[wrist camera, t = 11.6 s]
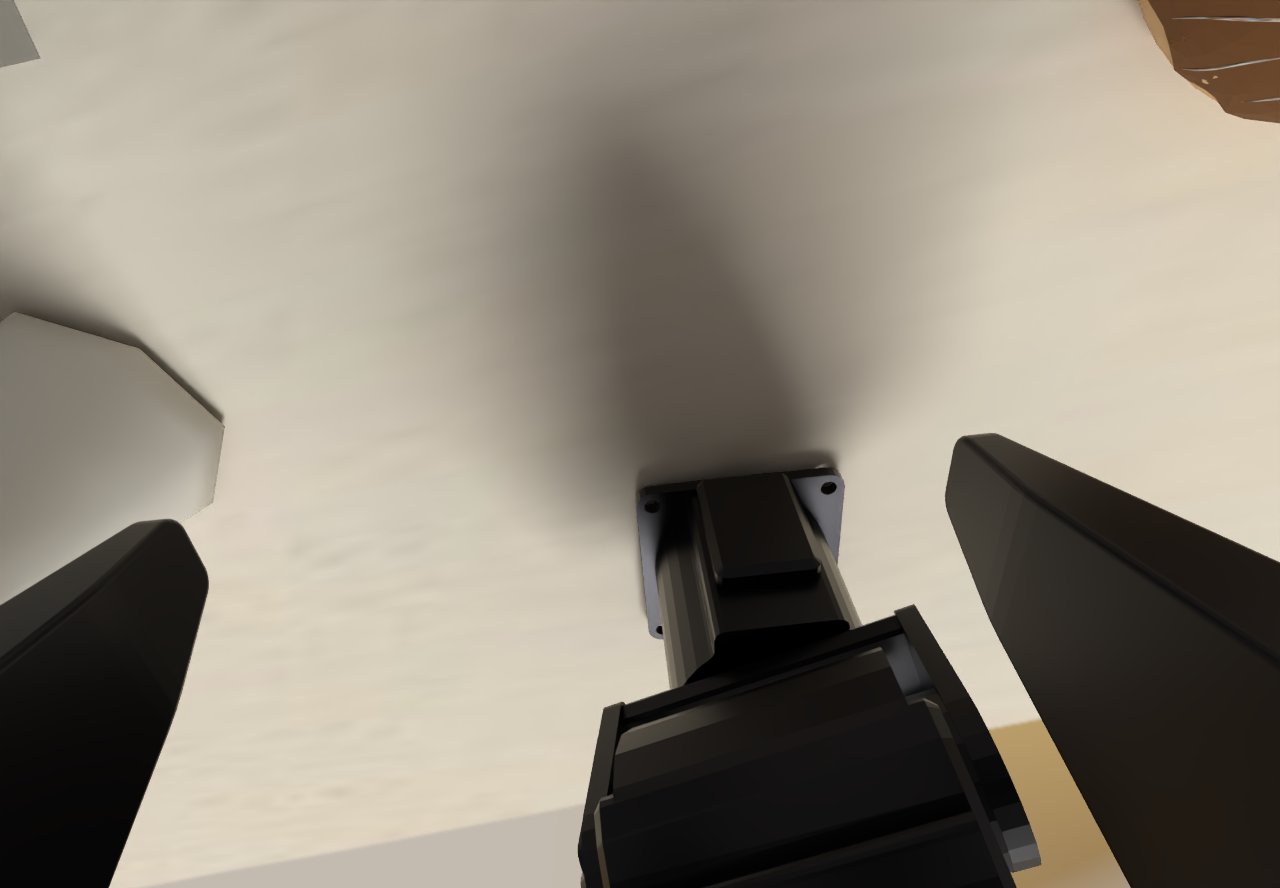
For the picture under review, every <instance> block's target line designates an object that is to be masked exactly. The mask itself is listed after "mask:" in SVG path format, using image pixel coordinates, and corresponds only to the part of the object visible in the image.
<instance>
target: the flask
mask: <svg viewBox="0 0 1280 888" xmlns="http://www.w3.org/2000/svg"><path fill="white" fill-rule="evenodd" d="M224 428H225V426H224V425H222V424H221V423H220V422H219V421H218V420H217V419H216V418H215V417H214V416H213V415H212V414H210V413H209V412H208V411H207V410H206V409H205V408H204V407H203V406H202V405H201V404H200V403H198V402H197V401H196V400H195V399H194V398H193V397H192V396H191V395H190V394H189V393H187V392H186V391H185V390H184V389H183V388H182V387H181V386H180V385H179V384H178V383H177V382H175V381H174V380H173V379H172V378H171V377H170V376H169V375H168V374H167V373H166V372H164V371H163V370H162V369H161V368H160V367H159V366H158V365H157V364H156V363H155V362H154V361H152V360H151V359H150V358H149V357H148V356H147V355H146V354H145V353H144V352H143V351H141V350H140V349H139V348H136V347H132V346H129V345H126V344H122V343H119V342H116V341H112V340H109V339H105V338H102V337H99V336H95V335H92V334H88V333H85V332H82V331H78V330H75V329H72V328H68V327H65V326H61V325H58V324H55V323H51V322H48V321H44V320H41V319H38V318H34V317H31V316H27V315H24V314H21V313H17V312H13V313H12V314H10V315H9V316H8V317H6V318H5V319H3V320H2V321H1V322H0V605H1V604H3V603H5V602H6V601H8V600H9V599H11V598H13V597H14V596H16V595H18V594H19V593H21V592H22V591H24V590H26V589H27V588H29V587H31V586H32V585H34V584H35V583H37V582H39V581H40V580H42V579H44V578H45V577H47V576H48V575H50V574H52V573H53V572H55V571H57V570H58V569H60V568H61V567H63V566H65V565H66V564H68V563H70V562H71V561H73V560H74V559H76V558H78V557H79V556H81V555H83V554H84V553H86V552H87V551H89V550H91V549H92V548H94V547H95V546H97V545H99V544H100V543H102V542H104V541H105V540H107V539H108V538H110V537H112V536H113V535H115V534H117V533H118V532H120V531H121V530H123V529H125V528H126V527H128V526H130V525H131V524H133V523H136V522H140V521H149V520H158V519H173V520H176V521H178V522H179V523H181V522H182V521H184V520H186V519H187V518H189V517H191V516H192V515H194V514H195V513H197V512H198V511H200V510H202V509H203V508H205V507H206V506H208V505H209V504H211V503H213V499H214V492H215V486H216V479H217V473H218V466H219V460H220V453H221V447H222V441H223V434H224Z"/></svg>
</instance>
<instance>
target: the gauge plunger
mask: <svg viewBox="0 0 1280 888" xmlns="http://www.w3.org/2000/svg"><path fill="white" fill-rule="evenodd" d="M39 58H40V56H39V54H38V52H37V49H36V47H35V45H34V43H33V41H32V39H31V37H30V34H29V32H28V30H27V28H26V26H25V24H24V21H23V19H22V17H21V15H20V13H19V11H18V9H17V6H16V4H15V2H14V0H0V67H4V66H9V65H13V64H17V63H22V62H26V61H30V60H35V59H39Z"/></svg>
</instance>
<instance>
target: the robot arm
mask: <svg viewBox="0 0 1280 888" xmlns="http://www.w3.org/2000/svg"><path fill="white" fill-rule="evenodd" d="M826 482H832V484H830V485H829V486H827V487H821V486H822V485H823V484H824V483H826ZM844 488H845V485H844V481H843V479H842V477H841V475H840V473H839V472H838V471H837V470H835V469H833V468H819V469H809V470H799V471H790V472H776V473H767V474H757V475H748V476H738V477H728V478H719V479H709V480H704V481H694V482H685V483H675V484H666V485H656V486H649V487H645V488H643V489H642V490H640V491H639V492H638V494H637V495H636V509H637V519H638V529H639V539H640V548H641V558H642V568H643V578H644V588H645V598H646V608H647V618H648V628H649V633H650V635H651V636H653V637H654V638H657V639H664V645H665V653H666V661H667V669H668V676H669V684H670V690H667V691H664V692H661V693H658V694H655V695H652V696H649V697H646V698H643V699H640V700H637V701H634V702H631V703H628V704H625V703H624V702H620V703H617V704H614V705H611V706H608V707H605V708H604V709H603V714H602V719H601V725H600V730H599V735H598V739H597V745H596V750H595V756H594V761H593V767H592V772H591V777H590V783H589V788H588V793H587V799H586V804H585V809H584V814H583V822H582V827H581V832H580V838H579V843H578V858H579V862H580V865H581V868H582V871H583V873H582V877H581V888H1016V885H1015V883H1014V880H1013V878H1012V875H1011V873H1010V872H1012V873H1013V872H1017V871H1021V870H1025V869H1028V868H1032V867H1036V866H1039V865H1041V858H1040V854H1039V850H1038V847H1037V843H1036V840H1035V837H1034V835H1033V832H1032V829H1031V826H1030V823H1029V821H1028V818H1027V816H1026V813H1025V811H1024V808H1023V806H1022V803H1021V801H1020V799H1019V796H1018V794H1017V792H1016V789H1015V787H1014V784H1013V782H1012V780H1011V777H1010V775H1009V773H1008V771H1007V769H1006V766H1005V764H1004V762H1003V760H1002V758H1001V756H1000V754H999V751H998V749H997V747H996V745H995V743H994V741H993V739H992V737H991V735H990V733H989V731H988V729H987V727H986V725H985V723H984V721H983V719H982V717H981V715H980V713H979V711H978V709H977V708H976V706H975V704H974V702H973V701H972V699H971V697H970V695H969V694H968V692H967V691H966V689H965V687H964V686H963V684H962V682H961V681H960V679H959V677H958V676H957V674H956V672H955V671H954V669H953V667H952V666H951V664H950V662H949V661H948V659H947V658H946V656H945V654H944V653H943V651H942V649H941V648H940V646H939V644H938V643H937V641H936V639H935V638H934V636H933V634H932V633H931V631H930V629H929V628H928V626H927V625H926V623H925V621H924V620H923V618H922V616H921V615H920V613H919V611H918V610H917V608H916V606H915V605H914V604H913V605H910V606H907V607H904V608H901V609H898V610H895V611H894V614H895V615H893V616H890V617H887V618H884V619H881V620H878V621H875V622H872V623H869V624H866V625H863V626H862V624H861V621H860V619H859V617H858V614H857V612H856V610H855V607H854V605H853V602H852V600H851V598H850V595H849V593H848V590H847V588H846V586H845V583H844V581H843V578H842V576H841V574H840V571H839V569H838V566H837V563H838V552H839V542H840V531H841V520H842V510H843V499H844ZM651 500H656V501H658V503H657V504H654V505H647V504H646V503H647V502H648V501H651ZM945 502H946V508H947V512H948V515H949V517H950V520H951V523H952V525H953V528H954V530H955V533H956V535H957V538H958V541H959V543H960V546H961V548H962V551H963V554H964V556H965V559H966V561H967V564H968V566H969V569H970V572H971V574H972V577H973V579H974V582H975V585H976V587H977V590H978V592H979V595H980V597H981V600H982V603H983V605H984V607H985V610H986V612H987V614H988V617H989V619H990V622H991V624H992V626H993V628H994V630H995V632H996V634H997V636H998V638H999V640H1000V642H1001V643H1002V645H1003V647H1004V649H1005V651H1006V653H1007V655H1008V657H1009V659H1010V660H1011V662H1012V664H1013V666H1014V668H1015V670H1016V672H1017V674H1018V676H1019V677H1020V679H1021V681H1022V683H1023V685H1024V687H1025V689H1026V691H1027V693H1028V694H1029V696H1030V698H1031V700H1032V702H1033V704H1034V706H1035V708H1036V710H1037V711H1038V713H1039V715H1040V717H1041V719H1042V721H1043V723H1044V725H1045V726H1046V728H1047V730H1048V732H1049V734H1050V736H1051V738H1052V740H1053V741H1054V743H1055V745H1056V747H1057V749H1058V751H1059V753H1060V755H1061V757H1062V759H1063V760H1064V762H1065V764H1066V766H1067V768H1068V770H1069V771H1070V774H1071V775H1072V777H1073V779H1074V781H1075V783H1076V785H1077V787H1078V789H1079V790H1080V793H1081V794H1082V796H1083V798H1084V800H1085V802H1086V804H1087V806H1088V808H1089V809H1090V811H1091V813H1092V815H1093V817H1094V819H1095V821H1096V823H1097V825H1098V827H1099V828H1100V830H1101V832H1102V834H1103V836H1104V838H1105V840H1106V842H1107V844H1108V845H1109V847H1110V849H1111V851H1112V853H1113V855H1114V857H1115V859H1116V860H1117V862H1118V864H1119V866H1120V868H1121V870H1122V872H1123V874H1124V876H1125V877H1126V879H1127V881H1128V883H1129V885H1130V887H1131V888H1280V562H1278V561H1276V560H1274V559H1272V558H1269V557H1267V556H1265V555H1263V554H1261V553H1258V552H1256V551H1254V550H1252V549H1250V548H1247V547H1245V546H1243V545H1241V544H1239V543H1236V542H1234V541H1232V540H1230V539H1228V538H1225V537H1223V536H1221V535H1219V534H1217V533H1214V532H1212V531H1210V530H1208V529H1206V528H1203V527H1201V526H1199V525H1197V524H1195V523H1192V522H1190V521H1188V520H1186V519H1184V518H1181V517H1179V516H1177V515H1175V514H1173V513H1170V512H1168V511H1166V510H1164V509H1162V508H1159V507H1157V506H1155V505H1153V504H1151V503H1148V502H1146V501H1144V500H1142V499H1140V498H1137V497H1135V496H1133V495H1131V494H1129V493H1126V492H1124V491H1122V490H1120V489H1118V488H1115V487H1113V486H1111V485H1109V484H1107V483H1104V482H1102V481H1100V480H1098V479H1096V478H1093V477H1091V476H1089V475H1087V474H1085V473H1082V472H1080V471H1078V470H1076V469H1074V468H1071V467H1069V466H1067V465H1065V464H1063V463H1060V462H1058V461H1056V460H1054V459H1052V458H1049V457H1047V456H1045V455H1043V454H1041V453H1038V452H1036V451H1034V450H1032V449H1030V448H1027V447H1025V446H1023V445H1021V444H1019V443H1016V442H1014V441H1012V440H1010V439H1008V438H1005V437H1003V436H1001V435H999V434H996V433H986V434H977V435H967V436H962V437H961V438H960V439H958V440H957V442H956V444H955V446H954V449H953V455H952V460H951V465H950V471H949V476H948V481H947V486H946V493H945ZM208 588H209V580H208V574H207V571H206V568H205V566H204V565H203V563H202V561H201V559H200V557H199V555H198V553H197V551H196V550H195V548H194V546H193V544H192V542H191V540H190V538H189V537H188V535H187V533H186V531H185V529H184V528H183V526H182V525H181V524H180V523H179V522H178V521H176V520H173V519H158V520H149V521H140V522H136V523H133V524H131V525H130V526H128V527H126V528H125V529H123V530H121V531H120V532H118V533H117V534H115V535H113V536H112V537H110V538H108V539H107V540H105V541H104V542H102V543H100V544H99V545H97V546H95V547H94V548H92V549H91V550H89V551H87V552H86V553H84V554H83V555H81V556H79V557H78V558H76V559H74V560H73V561H71V562H70V563H68V564H66V565H65V566H63V567H61V568H60V569H58V570H57V571H55V572H53V573H52V574H50V575H48V576H47V577H45V578H44V579H42V580H40V581H39V582H37V583H35V584H34V585H32V586H31V587H29V588H27V589H26V590H24V591H22V592H21V593H19V594H18V595H16V596H14V597H13V598H11V599H9V600H8V601H6V602H5V603H3V604H1V605H0V888H109V886H110V883H111V881H112V878H113V875H114V873H115V870H116V868H117V865H118V862H119V860H120V857H121V855H122V852H123V849H124V847H125V844H126V842H127V839H128V836H129V834H130V831H131V829H132V826H133V823H134V821H135V818H136V816H137V813H138V810H139V808H140V805H141V802H142V800H143V797H144V795H145V792H146V789H147V787H148V784H149V782H150V779H151V776H152V774H153V771H154V769H155V766H156V763H157V761H158V758H159V756H160V753H161V750H162V748H163V745H164V743H165V740H166V737H167V735H168V732H169V730H170V727H171V724H172V721H173V718H174V715H175V713H176V710H177V706H178V703H179V700H180V696H181V693H182V690H183V686H184V682H185V678H186V674H187V671H188V667H189V663H190V659H191V655H192V651H193V648H194V644H195V640H196V636H197V632H198V629H199V625H200V621H201V617H202V613H203V609H204V606H205V602H206V598H207V594H208ZM659 625H662V626H659Z"/></svg>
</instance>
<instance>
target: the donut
mask: <svg viewBox="0 0 1280 888" xmlns="http://www.w3.org/2000/svg"><path fill="white" fill-rule="evenodd" d="M1139 2H1140V6H1141V9H1142V13H1143V17H1144V19H1145V21H1146V23H1147V26H1148V28H1149V30H1150V32H1151V34H1152V36H1153V38H1154V40H1155V42H1156V43H1157V45H1158V46H1159V48H1160V49H1161V50H1162V52H1163V53H1164V55H1165V56H1166V57H1167V59H1168V60H1169V61H1170V63H1171V64H1172V66H1173V67H1174V70H1175V71H1176V72H1178V73H1179V74H1180V75H1181V76H1183V77H1184V78H1185V79H1186V80H1188V81H1189V82H1190V83H1191V84H1192V85H1193V86H1194V87H1195V88H1196V89H1198V90H1200V91H1201V92H1203V93H1204V94H1206V95H1207V96H1209V97H1211V98H1212V99H1214V100H1215V101H1217V102H1218V103H1219V104H1220V105H1221V107H1222V108H1223V110H1224V111H1225V112H1226V113H1229V114H1232V115H1235V116H1238V117H1241V118H1244V119H1250V120H1258V121H1266V122H1274V123H1280V0H1139Z"/></svg>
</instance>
